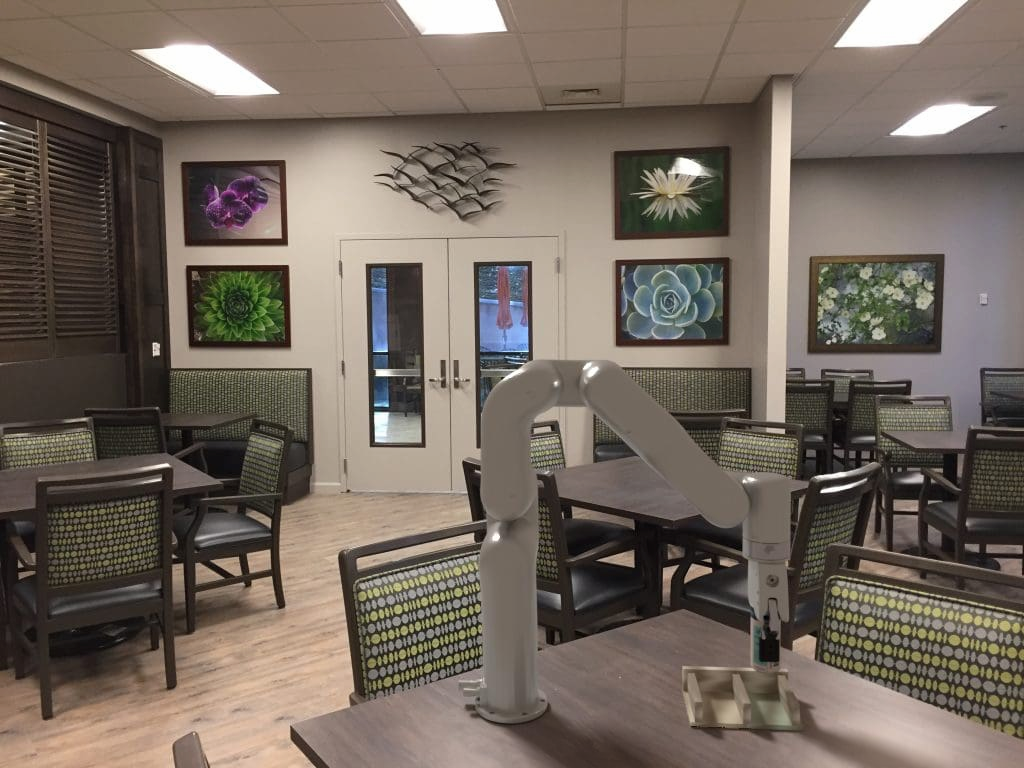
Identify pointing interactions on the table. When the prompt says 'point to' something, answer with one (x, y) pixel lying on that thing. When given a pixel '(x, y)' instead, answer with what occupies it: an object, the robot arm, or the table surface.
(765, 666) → the beer can
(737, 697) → the comb rack
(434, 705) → the table surface
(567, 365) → the robot arm
